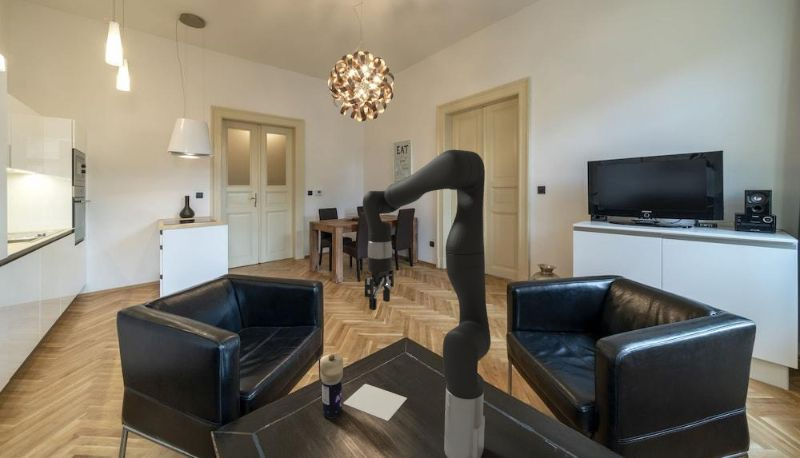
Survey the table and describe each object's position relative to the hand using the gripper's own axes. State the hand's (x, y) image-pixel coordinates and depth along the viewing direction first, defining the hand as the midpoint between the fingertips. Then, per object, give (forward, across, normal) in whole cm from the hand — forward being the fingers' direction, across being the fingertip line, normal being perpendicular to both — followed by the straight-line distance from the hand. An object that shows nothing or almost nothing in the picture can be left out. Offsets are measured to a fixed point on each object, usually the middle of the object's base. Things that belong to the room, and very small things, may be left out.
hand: (379, 305), depth 106 cm
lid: (+17, -16, +7) cm, 25 cm away
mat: (+29, -5, -2) cm, 30 cm away
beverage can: (+29, -16, +7) cm, 34 cm away
